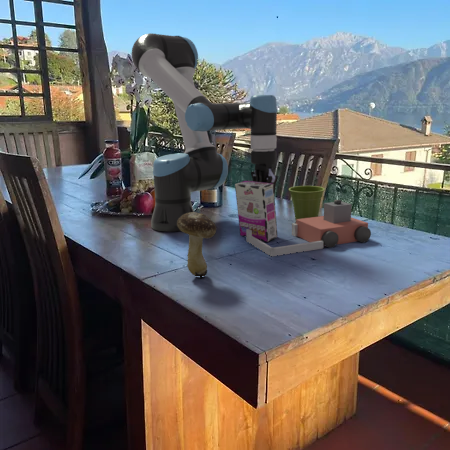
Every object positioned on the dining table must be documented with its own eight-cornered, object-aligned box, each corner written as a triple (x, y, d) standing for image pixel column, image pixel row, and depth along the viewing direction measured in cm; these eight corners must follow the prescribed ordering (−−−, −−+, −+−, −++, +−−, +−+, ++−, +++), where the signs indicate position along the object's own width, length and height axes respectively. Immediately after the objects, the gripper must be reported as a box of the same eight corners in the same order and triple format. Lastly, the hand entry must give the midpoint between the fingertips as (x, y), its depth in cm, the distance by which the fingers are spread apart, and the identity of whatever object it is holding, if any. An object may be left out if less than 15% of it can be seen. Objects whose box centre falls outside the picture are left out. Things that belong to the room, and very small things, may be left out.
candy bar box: (278, 236, 133) (274, 183, 127) (267, 242, 129) (263, 187, 124) (250, 230, 140) (245, 179, 135) (239, 235, 137) (233, 183, 132)
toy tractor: (271, 256, 117) (271, 215, 114) (244, 240, 132) (244, 203, 129) (371, 241, 129) (373, 203, 126) (336, 227, 144) (337, 193, 141)
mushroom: (179, 271, 108) (176, 210, 105) (215, 269, 109) (214, 208, 105) (179, 286, 99) (176, 219, 95) (218, 284, 100) (216, 218, 96)
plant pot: (297, 215, 161) (298, 184, 158) (329, 219, 154) (330, 187, 151) (281, 223, 151) (282, 189, 149) (314, 227, 145) (315, 193, 142)
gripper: (286, 150, 128) (285, 231, 133) (264, 147, 139) (265, 221, 145) (262, 152, 125) (262, 234, 131) (242, 149, 137) (243, 224, 142)
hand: (263, 227), depth 138 cm, fingers closed
